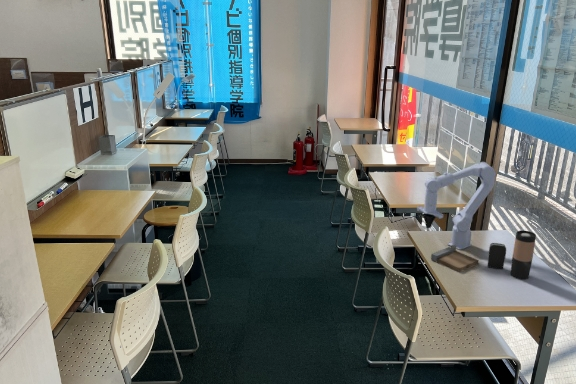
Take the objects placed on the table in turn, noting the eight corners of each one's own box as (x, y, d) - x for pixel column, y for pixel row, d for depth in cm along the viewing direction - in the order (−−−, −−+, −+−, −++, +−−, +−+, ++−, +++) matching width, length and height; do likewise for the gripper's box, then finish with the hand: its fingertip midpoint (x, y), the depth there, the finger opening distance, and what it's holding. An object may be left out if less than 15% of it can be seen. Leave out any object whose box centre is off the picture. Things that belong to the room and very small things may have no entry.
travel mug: (527, 272, 197) (534, 231, 190) (530, 281, 190) (537, 238, 184) (508, 270, 199) (515, 229, 193) (510, 278, 192) (517, 236, 186)
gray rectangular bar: (448, 252, 217) (449, 247, 216) (453, 254, 214) (454, 249, 213) (430, 259, 210) (431, 253, 209) (436, 261, 207) (436, 256, 206)
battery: (503, 266, 203) (506, 243, 200) (503, 269, 200) (507, 246, 196) (486, 263, 205) (489, 241, 202) (486, 267, 202) (490, 244, 199)
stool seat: (452, 252, 218) (453, 244, 217) (479, 263, 206) (480, 255, 205) (431, 259, 210) (432, 252, 209) (459, 272, 198) (459, 264, 197)
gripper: (413, 200, 223) (411, 224, 227) (437, 207, 212) (434, 234, 216) (423, 197, 227) (421, 222, 231) (446, 205, 215) (444, 230, 220)
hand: (428, 227), depth 224 cm, fingers closed
